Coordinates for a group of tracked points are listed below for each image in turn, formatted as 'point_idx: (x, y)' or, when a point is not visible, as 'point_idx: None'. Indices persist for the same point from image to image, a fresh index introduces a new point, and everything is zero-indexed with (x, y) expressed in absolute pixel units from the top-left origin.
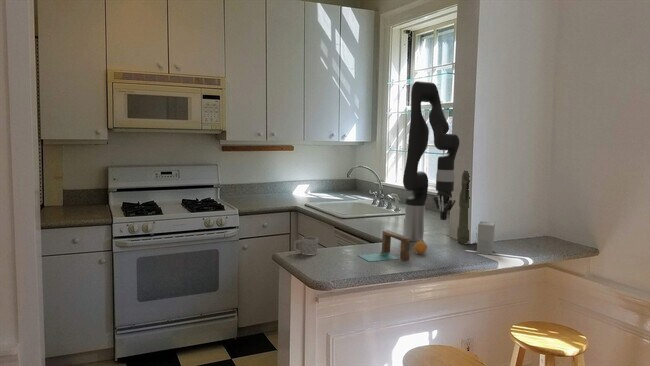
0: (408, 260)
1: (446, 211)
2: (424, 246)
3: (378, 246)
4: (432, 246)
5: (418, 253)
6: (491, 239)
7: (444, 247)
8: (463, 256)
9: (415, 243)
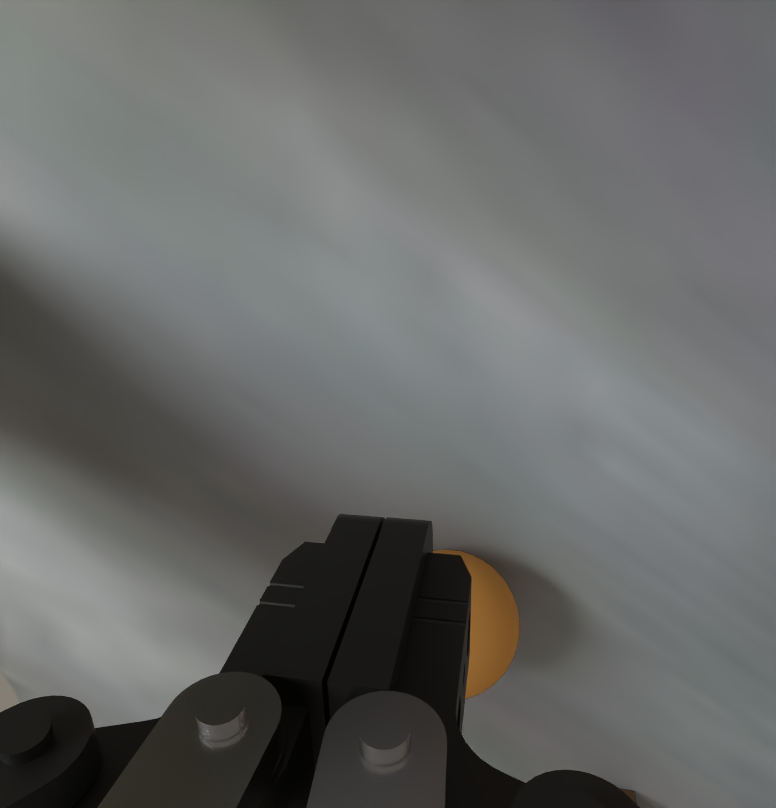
0: (633, 798)
1: (466, 769)
2: (514, 643)
3: (117, 712)
4: (179, 249)
5: None
6: None
7: (252, 123)
8: (761, 190)
9: None
